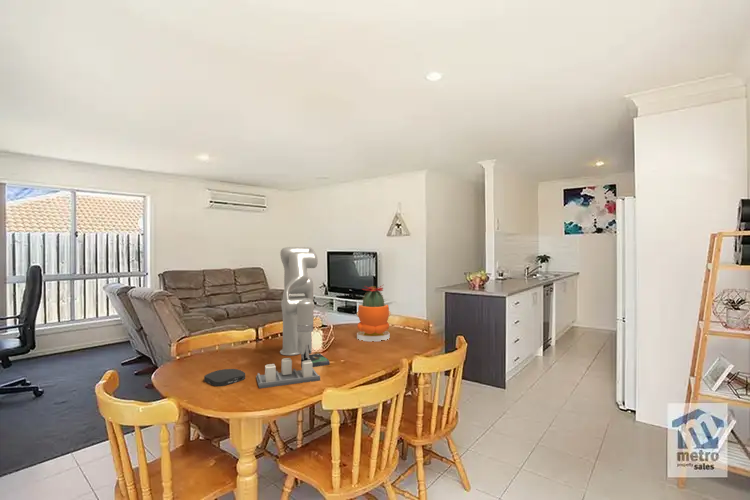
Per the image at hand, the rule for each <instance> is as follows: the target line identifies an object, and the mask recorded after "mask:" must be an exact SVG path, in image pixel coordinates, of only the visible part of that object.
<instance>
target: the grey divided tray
mask: <svg viewBox="0 0 750 500" xmlns="http://www.w3.org/2000/svg"><path fill="white" fill-rule="evenodd" d="M255 377H256V383H257V386H258V388H259V389H264V388H265V389H266V388H272V387H281V386H287V385H296V384H303V382H304V383H311V382H317V381H321V375H319V374H318V373H317V372H316V370H315V369H314V368H313V376H311V377H303V376H302V369H300V370H298V369H296V368H292V374H288V375H282V373H281V372H279V371H278V370H276V381H272V382H266V381H265V374H260V372H257V375H255ZM310 381H311V382H310Z"/></svg>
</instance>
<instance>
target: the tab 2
mask: <svg viewBox="0 0 750 500" xmlns="http://www.w3.org/2000/svg"><path fill="white" fill-rule="evenodd" d="M292 367H293V360H292V359H291V357H285V358H281V367H280V368H281V370H280V371H281V372H280V373H282V375H288V374H292V371H293V368H292Z"/></svg>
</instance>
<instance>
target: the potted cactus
mask: <svg viewBox="0 0 750 500" xmlns="http://www.w3.org/2000/svg"><path fill="white" fill-rule="evenodd" d="M383 286H384V284H382V285H380V286H378V287H375V286H374V285H373V286H372V285H371V286H369V287H368V286H367V285H364V288H362V289H361V290H363V291H366V292H365V294H364V296H363V297H362V301H361V304H359V305H358V309H357V312H356V316H357V318H358V319H359V320H358V321H359V322H358V323H357V330H358V332H356V339H357V340H358V339H359V340H358V341H361V340H363V341H362V342H372V341H374V342H382V341H381V340H385V341H388V340H390V339H389V338H391V337H390V336H391V335H390V332H389V331H388V330H389V329H390V323H389V322H388V321H389V317H390V316H391V315H392V312H391V310H390V308H389V307H390V306H389V305H388V304H386V303H385V302H386V301H385V298H384V296H383V294H382V291H384V287H383ZM387 339H388V340H387Z"/></svg>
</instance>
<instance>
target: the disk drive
mask: <svg viewBox="0 0 750 500" xmlns="http://www.w3.org/2000/svg"><path fill="white" fill-rule="evenodd" d="M309 360H311V362H312V363H313V368H316V367H324V366H329V365H330V364H331V363H330V362H331V361H330V360H329V358H327V357H325V356H324V355H323V354H321V353H313V354H312V353H311V354H309Z"/></svg>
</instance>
